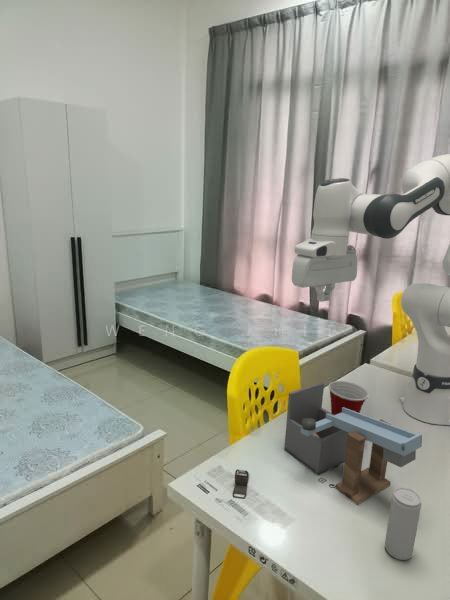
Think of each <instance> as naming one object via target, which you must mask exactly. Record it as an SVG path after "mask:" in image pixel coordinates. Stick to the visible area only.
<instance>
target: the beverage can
mask: <svg viewBox="0 0 450 600" xmlns="http://www.w3.org/2000/svg"><path fill="white" fill-rule="evenodd" d="M421 509H422V497H421V496H420V495H419V494H418V493H417V492H416V491H414V490H413V489H410V488H408V487H398V488H395V489H394V491H393V493H392V497H391V501H390V507H389V513H388V514H389V515H388V520H387V527H386V533H385V539H384V540H385V541H384V547H385V550H386V551H387V553H388V554H389V555H390V556H391V557H393V558H394V559H396V560H399V561H406V560H409V559H411V558H412V556H413V553H414V552H413V551H414V547H415V542H416V536H417V530H418V526H419V519H420V514H421Z"/></svg>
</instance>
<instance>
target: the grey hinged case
mask: <svg viewBox="0 0 450 600" xmlns="http://www.w3.org/2000/svg"><path fill="white" fill-rule="evenodd" d="M249 480H250V472H249V471H248V470H246V469H235V473H234V487H233V491H232V498H234V499H241V500H245V499H246V498H247V495H248V494H247V492H248V483H249ZM236 495H240V496H236ZM241 495H242V496H241Z"/></svg>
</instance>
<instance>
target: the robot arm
mask: <svg viewBox="0 0 450 600" xmlns="http://www.w3.org/2000/svg"><path fill="white" fill-rule="evenodd" d="M401 190H402V193H403V194H398V193H393V194H392V193H390V194H389V193H388V194H378V193H376V194H374V193H364V192H363V191H361V190H359V189H357V188H356V187H355V186H354V184H353V183H352V180H351V179H349V178H345V177H344V178H342V177H341V178H338V177H337V178H331V179H326V180H323V181H322V182H320V183H319V184H318V186H317V188H316V192H315V195H314V196H315V197H314V201H313V202H314V204H313V210H312V211H313V213H312V218H313V227H312V230H311V237H310V238H308V239H306V240H304V241H302V242H300V243H298V244H296V245H295V246H294V254H297V255H296V256H295V257H294V259H293V262H292V269H291V282H292V284H293V286H295V287H298V288H302V289H303V288H311V287H314V289H315V293H316V295H317V296H316V297H317V298H316V300H317V302H320V303H322V302H327V301H328V302H329V301H330V300H331V297H332V296H331V295H332V293H333V291H334V289H335V287H336V284H340V283H347V282H354V281H356V278H357V277H358V276H357V275H358V257H357V249H356V248H355V246H354V245H353V244H352V245H351V244H348V242H349V235H350V234H349V232H351V233H352V232H353V233H356V234H361V235H368V236H374V237H378V238H381V239H384V240H385V239H386V240H388V239H392V238H395V237H397V236H398V235H400V233H402V231H404V230H405V228H407V226H408V225H410V223H411V222H412V221H414V220H415V219H416V218H418V217H420V216H421V215H422V214H424V213H425V212H427V211H428V210H430V209H433V211H434V212H435V213H436V214H438V215H440V216H450V153H446V154H441V155H437V156H434V157H430V158H428V159H425V160H423V161H421V162H418V163H416V164H415V165H413V166H412V167H410V168H409V169H408V170H407V171H406V172H404V174H403V177H402V179H401ZM442 269H443V270H444V272H445V273H446V274H447V275H448V276H449V277H450V243H449V244H448V247H447V249H446V252H445V255H444V258H443V259H442ZM400 306H401V308H402V310H403V313H404V314H405V315H406V316H407V317H408V318H409V320H411V322H412V324H413V326H414V329H415V331H416V335H417V340H418V341H417V344H418V345H417V353H416V361H415V362H416V363H415V364H414V366H413V369H412V377H410V378H409V379H408V381H407V383H406V387H405V393H404V396H400V398H399V401H400V402H401V404H402V408H403V410H404V412H405V413H406V414H407V415H409V416H410V417H411V418H414V419H416V420H418V421H421V422H423V423H424V422H425V423H427V424H431V425H442V426H443V425H444V426H450V335H449V332H448V331H447V330H446V327H447V328H450V286H449V287H448V286H443V285H437V284H435V283H434V284H432V283H412V284H410V285H408V286H407V287H406V288H405V290H403V292H402V295H401V297H400Z"/></svg>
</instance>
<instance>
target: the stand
mask: <svg viewBox="0 0 450 600" xmlns="http://www.w3.org/2000/svg"><path fill="white" fill-rule="evenodd" d="M378 420H379V421H382V422H385V423H387V424H390V425H392V424H391V423H388V422H387V421H385V420H383V419H378ZM365 444H366V440H365V437H363V436H361V435H359V434H358V433H356V432H354V431H353V432H351V433H349V434H348V436H347V444H346V452H345V460H344V463H343V470H342V479H341V481H340V482H338V483H336V484H335V490H337V491H338V492H340V493H341V494H343V495H344V496H345V497H346V498H348V499H349V500H351V501H352V502H353V503H355V505H359V504H360V503H363V502H364V501H366V500H368V499H369V498H371V497H373V496H374V495H376V494H378V493H380V492H381V491H383V490H384V489H386V488H388V487H390V486H391V481H390V479H389V480H388V479H387V478H386V473H387V465H388V461H385V460H383V447H382V446H379V445H377V444H375V443H372V445H371V453H370V459H369V465H368V467H366V468H364V469H363V470H362V466H363V460H364V452H365Z"/></svg>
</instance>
